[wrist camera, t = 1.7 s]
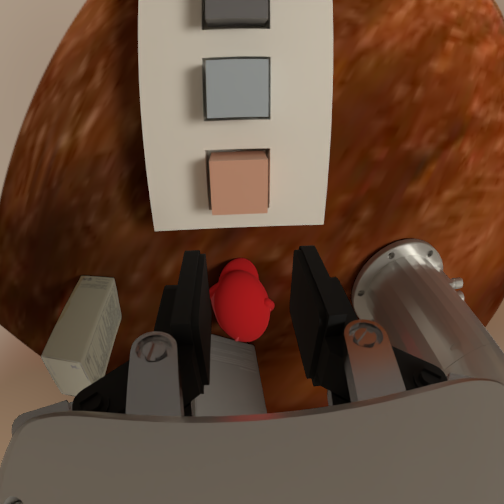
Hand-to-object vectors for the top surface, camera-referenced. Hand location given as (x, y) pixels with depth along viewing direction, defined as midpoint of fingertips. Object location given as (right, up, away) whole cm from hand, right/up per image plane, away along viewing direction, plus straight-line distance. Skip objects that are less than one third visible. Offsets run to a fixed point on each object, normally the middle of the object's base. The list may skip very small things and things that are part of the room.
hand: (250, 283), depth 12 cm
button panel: (-1, +15, +11) cm, 19 cm away
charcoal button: (-1, +19, +5) cm, 20 cm away
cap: (-1, -2, +22) cm, 22 cm away
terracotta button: (-1, +7, +12) cm, 14 cm away
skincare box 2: (-4, -11, +27) cm, 29 cm away
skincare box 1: (-17, -4, +21) cm, 27 cm away
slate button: (-1, +13, +9) cm, 16 cm away
